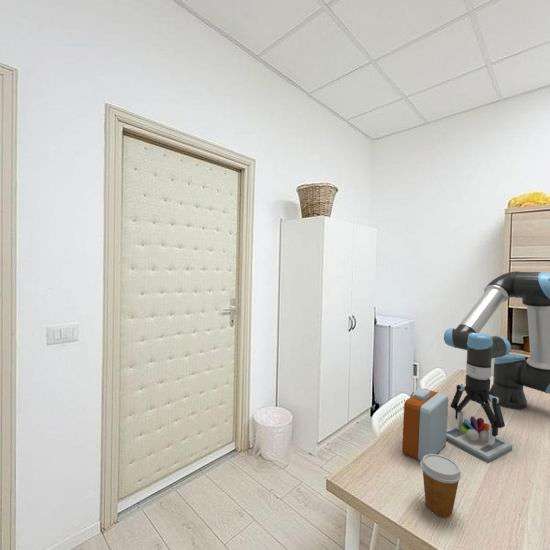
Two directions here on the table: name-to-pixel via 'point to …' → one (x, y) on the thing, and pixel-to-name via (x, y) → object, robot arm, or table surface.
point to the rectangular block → (424, 423)
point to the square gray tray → (478, 445)
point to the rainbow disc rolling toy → (476, 429)
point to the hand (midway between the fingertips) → (474, 436)
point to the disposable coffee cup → (440, 483)
